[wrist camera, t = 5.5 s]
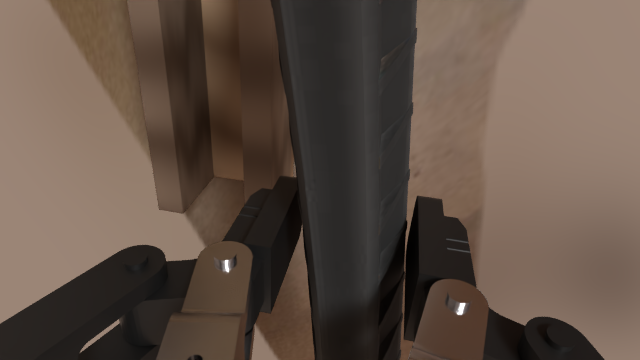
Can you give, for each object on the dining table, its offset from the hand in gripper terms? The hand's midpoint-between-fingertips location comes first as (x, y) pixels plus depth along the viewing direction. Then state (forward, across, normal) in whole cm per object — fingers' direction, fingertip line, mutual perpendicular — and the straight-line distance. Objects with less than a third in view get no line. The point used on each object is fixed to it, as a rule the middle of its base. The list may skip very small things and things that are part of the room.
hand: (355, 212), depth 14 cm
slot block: (+21, +11, 0) cm, 24 cm away
